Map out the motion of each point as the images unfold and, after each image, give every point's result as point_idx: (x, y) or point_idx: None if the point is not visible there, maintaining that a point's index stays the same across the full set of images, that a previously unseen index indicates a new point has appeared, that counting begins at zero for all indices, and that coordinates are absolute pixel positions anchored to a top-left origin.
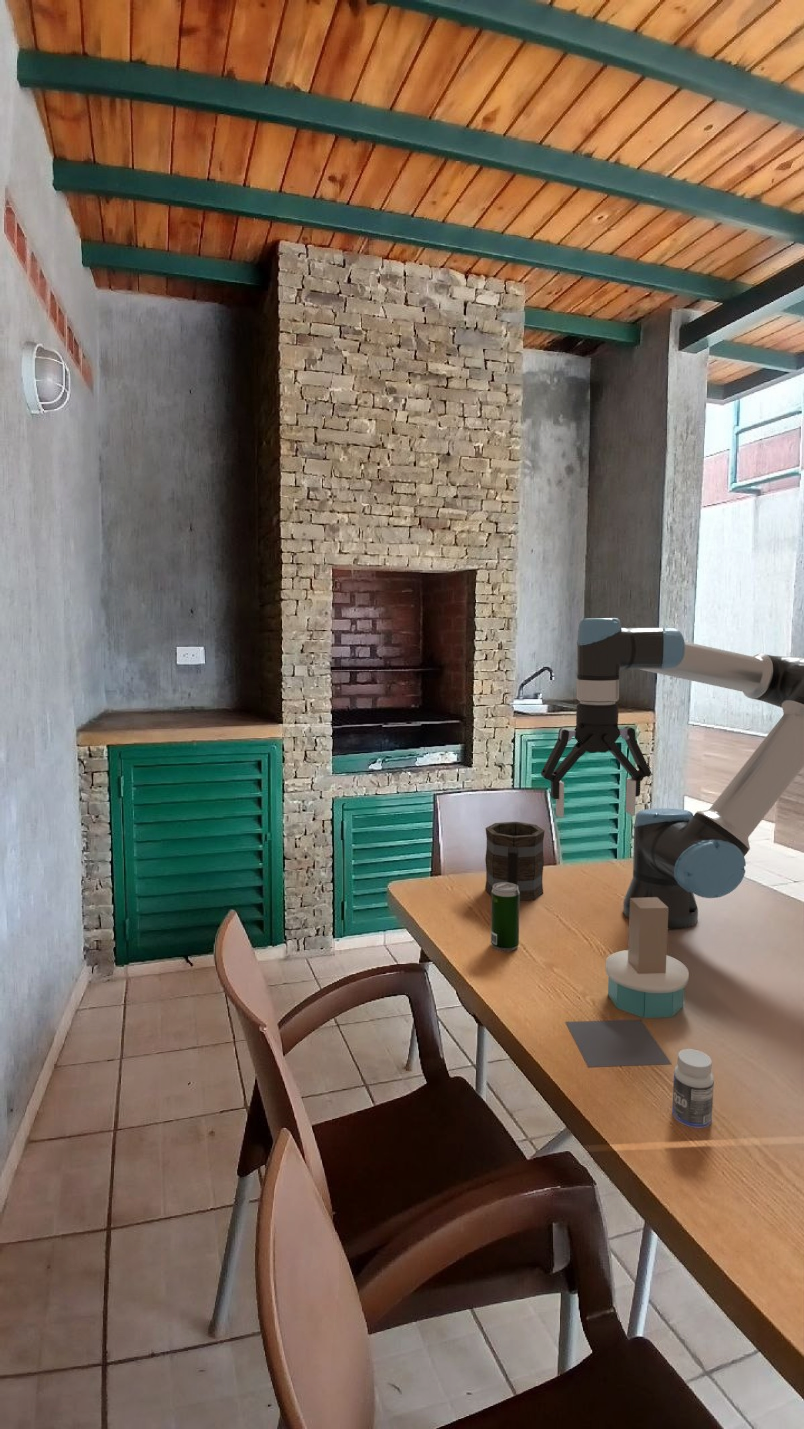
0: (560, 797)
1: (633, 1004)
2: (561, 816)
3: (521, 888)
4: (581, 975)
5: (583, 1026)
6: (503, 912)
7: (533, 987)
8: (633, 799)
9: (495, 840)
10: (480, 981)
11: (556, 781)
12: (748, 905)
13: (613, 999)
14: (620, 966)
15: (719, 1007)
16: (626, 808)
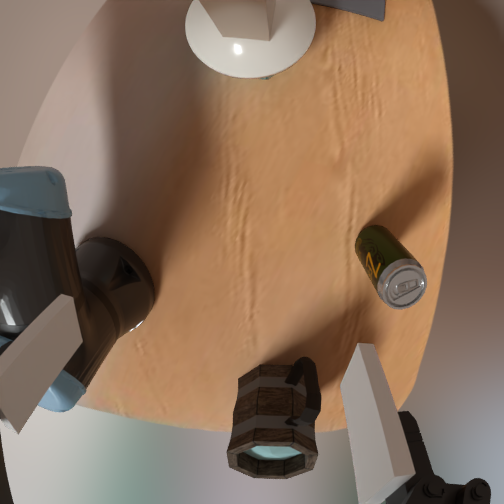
0: (395, 410)
1: None
2: (367, 345)
3: (279, 379)
4: (307, 125)
5: (365, 5)
6: (406, 249)
7: (388, 113)
8: (31, 331)
9: (314, 445)
10: (442, 153)
11: (431, 480)
12: None
13: None
14: (291, 28)
15: (164, 18)
16: (75, 344)
